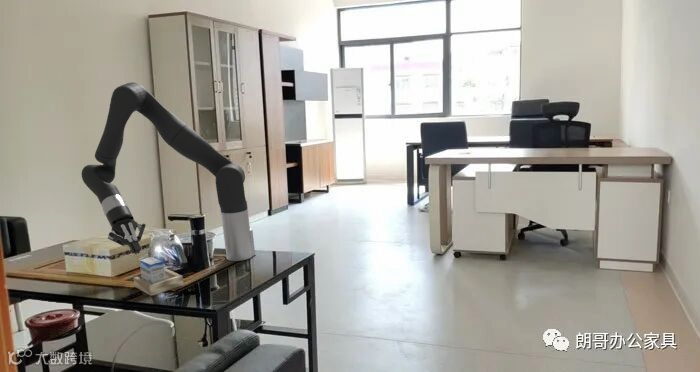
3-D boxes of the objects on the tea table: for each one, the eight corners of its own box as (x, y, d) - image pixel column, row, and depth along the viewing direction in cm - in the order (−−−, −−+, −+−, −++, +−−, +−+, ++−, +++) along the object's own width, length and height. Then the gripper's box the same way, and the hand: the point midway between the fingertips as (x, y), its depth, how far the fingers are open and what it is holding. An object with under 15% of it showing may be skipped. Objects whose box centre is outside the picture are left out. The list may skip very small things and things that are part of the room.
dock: (166, 276, 173) (164, 268, 173) (183, 284, 165) (182, 275, 164) (134, 286, 166) (133, 277, 166) (151, 295, 158) (149, 286, 157)
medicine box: (142, 286, 166) (138, 260, 164) (156, 282, 169) (152, 256, 168) (153, 292, 161) (149, 265, 159) (167, 287, 164) (163, 260, 162)
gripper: (98, 209, 173) (119, 252, 167) (137, 200, 182) (159, 240, 176) (95, 222, 178) (115, 264, 172) (133, 213, 187) (154, 252, 181)
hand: (137, 252), depth 174 cm, fingers closed
